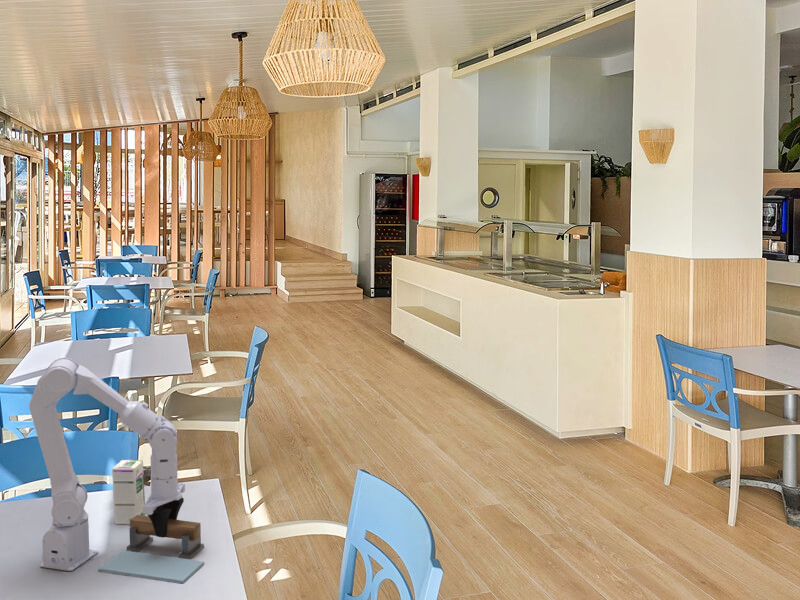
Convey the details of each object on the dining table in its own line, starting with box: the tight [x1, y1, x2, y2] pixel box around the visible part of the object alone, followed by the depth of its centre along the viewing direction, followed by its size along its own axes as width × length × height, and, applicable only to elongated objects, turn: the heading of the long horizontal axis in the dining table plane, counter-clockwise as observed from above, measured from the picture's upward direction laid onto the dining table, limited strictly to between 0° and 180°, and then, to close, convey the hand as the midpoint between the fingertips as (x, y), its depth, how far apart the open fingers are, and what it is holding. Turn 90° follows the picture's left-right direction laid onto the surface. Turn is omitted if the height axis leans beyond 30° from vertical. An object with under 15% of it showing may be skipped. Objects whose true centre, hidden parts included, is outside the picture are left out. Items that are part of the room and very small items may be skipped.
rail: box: [129, 515, 202, 541], centre depth 174 cm, size 3×16×3 cm, turn 76°
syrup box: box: [111, 459, 146, 525], centre depth 190 cm, size 6×6×14 cm
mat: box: [97, 550, 205, 584], centre depth 166 cm, size 9×20×1 cm, turn 76°
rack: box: [126, 527, 205, 560], centre depth 175 cm, size 6×16×5 cm, turn 76°
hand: (165, 533), depth 174 cm, fingers closed on rail, 3 cm apart
